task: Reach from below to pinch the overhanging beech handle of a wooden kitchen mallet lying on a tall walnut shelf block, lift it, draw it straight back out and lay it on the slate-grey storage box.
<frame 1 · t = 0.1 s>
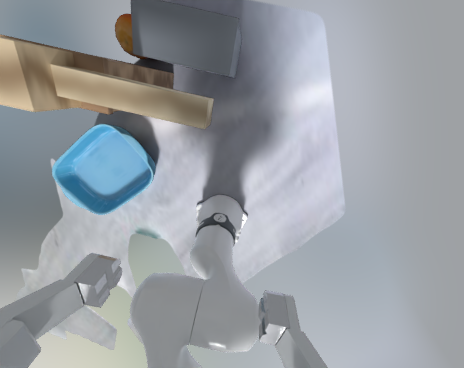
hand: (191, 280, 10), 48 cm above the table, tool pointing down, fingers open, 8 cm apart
shelf block: (147, 82, 50), on the table
storage box: (202, 51, 45), on the table
casserole dish: (115, 167, 63), on the table
fruit: (143, 40, 46), on the table
mallet: (91, 84, 27), point 26 cm above the table, touching shelf block
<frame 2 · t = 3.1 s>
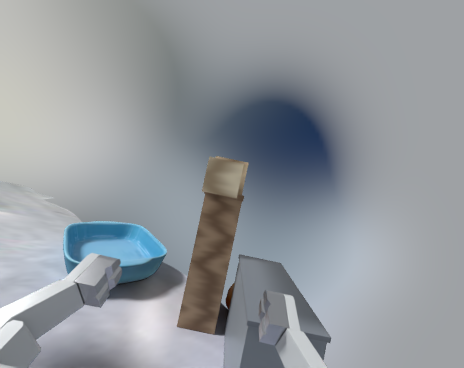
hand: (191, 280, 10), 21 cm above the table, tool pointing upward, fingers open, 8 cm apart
shelf block: (201, 306, 41), on the table
casserole dish: (110, 261, 53), on the table
fruit: (240, 312, 42), on the table
mallet: (225, 192, 37), point 26 cm above the table, touching shelf block
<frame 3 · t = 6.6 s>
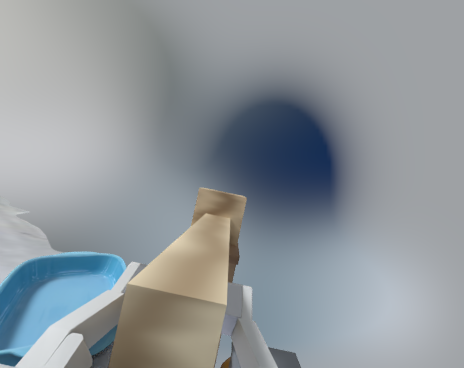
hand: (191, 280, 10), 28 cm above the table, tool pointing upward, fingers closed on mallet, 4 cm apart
casserole dish: (65, 314, 40), on the table
mallet: (211, 244, 24), point 26 cm above the table, touching gripper, shelf block
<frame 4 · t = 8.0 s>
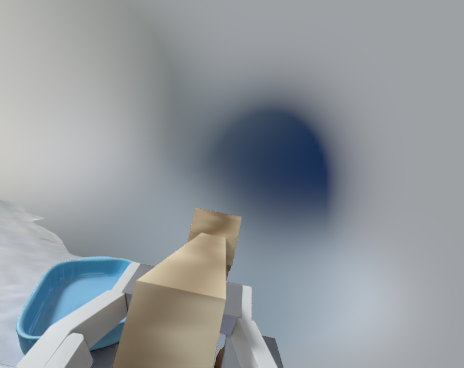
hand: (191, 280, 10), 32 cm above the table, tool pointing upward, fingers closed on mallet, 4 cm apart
casserole dish: (87, 311, 48), on the table
mallet: (206, 264, 24), point 27 cm above the table, tilted 8°, touching gripper
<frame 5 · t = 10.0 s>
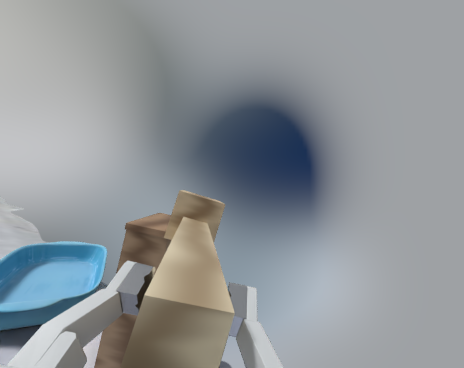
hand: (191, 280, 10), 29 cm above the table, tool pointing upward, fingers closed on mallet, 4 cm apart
shelf block: (134, 350, 36), on the table
casserole dish: (48, 290, 48), on the table
mallet: (187, 248, 25), point 26 cm above the table, tilted 6°, touching gripper, shelf block
when the fingers open (19 cm above the table, at t = 12.0 s): mallet drops 4 cm and tips over, resting on storage box.
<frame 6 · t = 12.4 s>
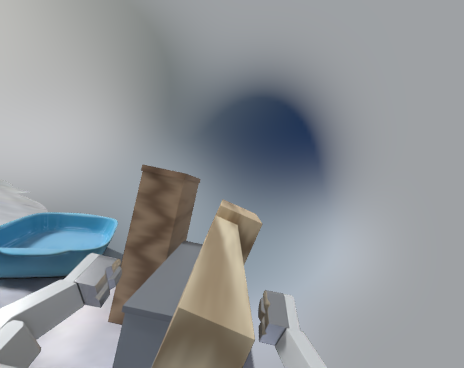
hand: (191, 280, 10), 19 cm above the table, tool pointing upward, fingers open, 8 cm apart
shelf block: (148, 300, 37), on the table
casserole dish: (60, 253, 48), on the table
mallet: (209, 229, 26), point 19 cm above the table, tilted 102°, touching storage box
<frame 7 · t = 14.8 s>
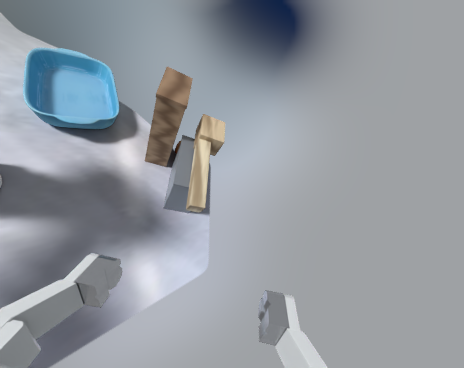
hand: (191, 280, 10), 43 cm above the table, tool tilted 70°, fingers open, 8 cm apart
shelf block: (159, 149, 68), on the table
storage box: (180, 187, 63), on the table
casserole dish: (78, 100, 64), on the table
fruit: (184, 155, 72), on the table
mallet: (196, 147, 52), point 18 cm above the table, tilted 90°, touching storage box
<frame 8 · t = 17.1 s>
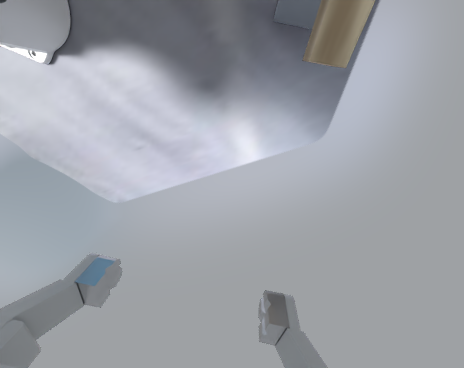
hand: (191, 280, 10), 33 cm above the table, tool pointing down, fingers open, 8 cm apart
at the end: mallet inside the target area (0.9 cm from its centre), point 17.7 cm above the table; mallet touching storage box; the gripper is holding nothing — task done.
